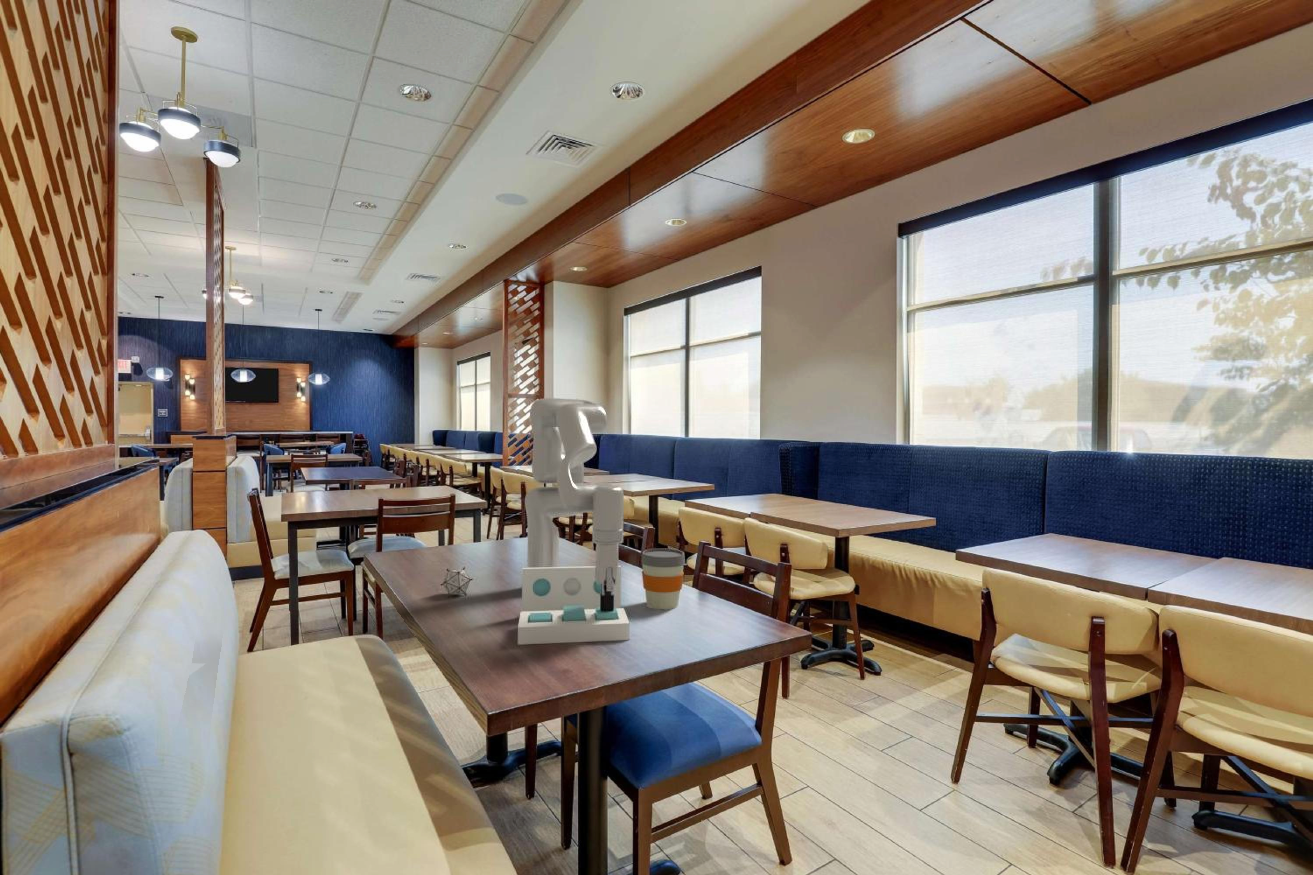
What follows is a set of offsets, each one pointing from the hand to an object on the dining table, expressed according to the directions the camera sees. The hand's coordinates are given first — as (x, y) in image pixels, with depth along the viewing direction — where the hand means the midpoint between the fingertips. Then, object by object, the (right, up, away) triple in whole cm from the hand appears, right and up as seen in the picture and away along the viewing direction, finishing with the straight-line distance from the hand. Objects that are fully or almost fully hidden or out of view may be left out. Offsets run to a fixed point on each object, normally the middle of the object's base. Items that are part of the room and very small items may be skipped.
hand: (606, 610), depth 150 cm
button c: (0, -3, 0) cm, 3 cm away
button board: (-8, -5, -1) cm, 10 cm away
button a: (-16, -4, -2) cm, 17 cm away
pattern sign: (-10, -5, +13) cm, 17 cm away
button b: (-8, -3, -1) cm, 9 cm away
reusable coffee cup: (+14, -6, +24) cm, 28 cm away
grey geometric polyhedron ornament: (-47, -4, +30) cm, 56 cm away
